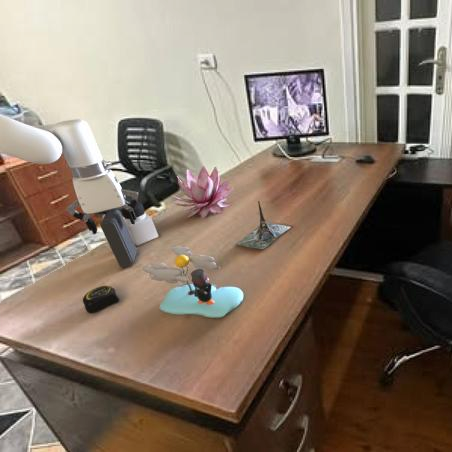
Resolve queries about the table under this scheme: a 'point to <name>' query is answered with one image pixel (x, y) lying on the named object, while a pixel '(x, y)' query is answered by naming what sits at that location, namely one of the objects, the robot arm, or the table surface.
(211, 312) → the penguin figurine
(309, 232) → the table surface
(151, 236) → the medicine bottle
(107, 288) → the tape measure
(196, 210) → the decorative flower
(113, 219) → the card reader
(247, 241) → the eiffel tower figurine
